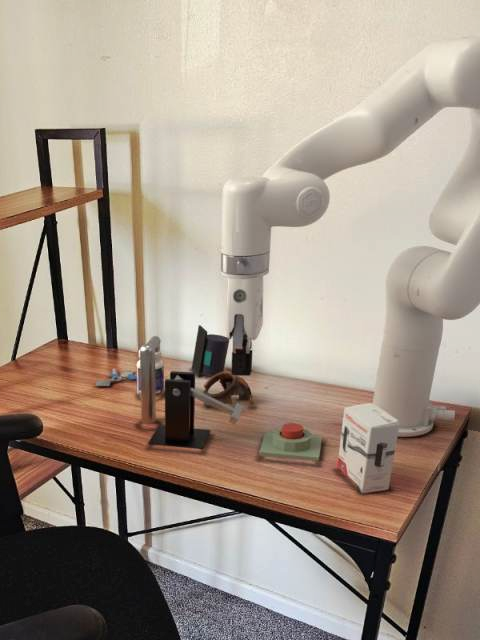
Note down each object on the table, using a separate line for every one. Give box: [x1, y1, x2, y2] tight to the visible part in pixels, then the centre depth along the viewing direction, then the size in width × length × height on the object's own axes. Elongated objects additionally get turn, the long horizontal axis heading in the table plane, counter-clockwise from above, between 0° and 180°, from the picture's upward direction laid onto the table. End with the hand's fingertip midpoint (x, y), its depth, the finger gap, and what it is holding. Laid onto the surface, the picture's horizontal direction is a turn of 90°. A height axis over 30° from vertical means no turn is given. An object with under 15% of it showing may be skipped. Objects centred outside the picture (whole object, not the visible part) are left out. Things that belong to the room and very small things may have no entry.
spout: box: [139, 335, 162, 425], centre depth 136 cm, size 4×9×16 cm, turn 162°
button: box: [281, 422, 304, 440], centre depth 124 cm, size 4×4×2 cm
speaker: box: [191, 324, 230, 378], centre depth 159 cm, size 8×6×10 cm
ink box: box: [337, 402, 399, 494], centre depth 113 cm, size 8×5×12 cm, turn 11°
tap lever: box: [174, 375, 244, 426], centre depth 126 cm, size 13×6×2 cm, turn 71°
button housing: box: [258, 426, 323, 462], centre depth 125 cm, size 10×9×4 cm
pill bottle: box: [136, 349, 165, 397], centre depth 149 cm, size 6×6×10 cm
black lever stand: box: [148, 370, 212, 450], centre depth 128 cm, size 10×8×13 cm
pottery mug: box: [202, 368, 254, 407], centre depth 144 cm, size 12×10×8 cm
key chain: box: [94, 368, 137, 387], centre depth 162 cm, size 14×8×1 cm, turn 118°
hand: (241, 373), depth 121 cm, fingers closed
